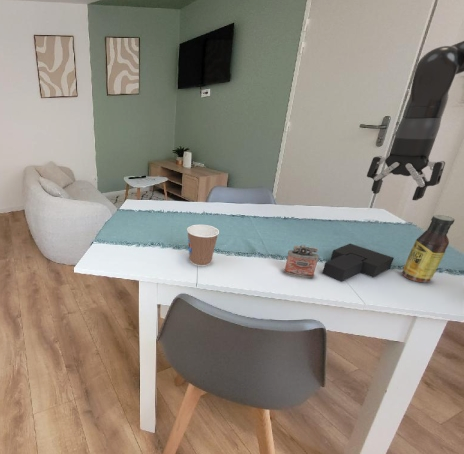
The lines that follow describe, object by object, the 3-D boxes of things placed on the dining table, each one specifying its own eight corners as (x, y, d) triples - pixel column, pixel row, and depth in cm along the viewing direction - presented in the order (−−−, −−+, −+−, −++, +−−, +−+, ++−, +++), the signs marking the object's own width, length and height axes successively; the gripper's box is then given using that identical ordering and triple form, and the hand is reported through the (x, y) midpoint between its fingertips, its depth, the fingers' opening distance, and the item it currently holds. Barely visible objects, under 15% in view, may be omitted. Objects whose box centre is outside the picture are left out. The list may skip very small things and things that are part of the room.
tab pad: (364, 270, 92) (368, 259, 90) (341, 281, 87) (345, 270, 86) (345, 262, 97) (348, 252, 95) (322, 273, 92) (325, 262, 90)
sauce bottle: (397, 270, 91) (421, 211, 83) (424, 274, 88) (452, 213, 80) (406, 281, 86) (432, 219, 78) (435, 286, 83) (465, 222, 75)
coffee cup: (189, 252, 109) (191, 222, 104) (218, 257, 104) (221, 227, 99) (181, 264, 101) (183, 233, 96) (212, 271, 96) (215, 238, 91)
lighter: (283, 274, 92) (290, 246, 88) (283, 269, 95) (289, 242, 91) (314, 279, 89) (322, 251, 85) (312, 274, 91) (320, 246, 88)
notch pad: (389, 268, 92) (394, 257, 91) (373, 277, 88) (377, 266, 87) (346, 253, 102) (350, 243, 101) (330, 260, 98) (333, 250, 97)
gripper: (461, 136, 71) (435, 199, 77) (387, 133, 83) (370, 189, 89) (449, 139, 68) (423, 205, 74) (373, 136, 80) (357, 193, 86)
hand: (394, 196), depth 81 cm, fingers open, 8 cm apart
